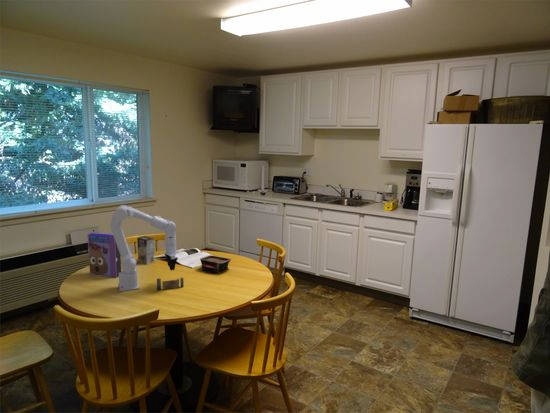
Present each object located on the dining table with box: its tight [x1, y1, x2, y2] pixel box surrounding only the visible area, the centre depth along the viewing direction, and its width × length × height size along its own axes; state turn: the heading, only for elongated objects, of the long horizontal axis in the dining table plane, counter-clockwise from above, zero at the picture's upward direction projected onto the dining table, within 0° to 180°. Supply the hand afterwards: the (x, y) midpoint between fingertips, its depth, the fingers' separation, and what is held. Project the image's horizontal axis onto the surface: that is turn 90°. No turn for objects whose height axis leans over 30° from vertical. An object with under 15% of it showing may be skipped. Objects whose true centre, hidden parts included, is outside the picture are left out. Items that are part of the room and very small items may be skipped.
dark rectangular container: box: [199, 255, 232, 274], centre depth 230 cm, size 14×18×10 cm
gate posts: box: [156, 277, 184, 292], centre depth 200 cm, size 14×2×6 cm, turn 114°
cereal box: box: [86, 232, 122, 279], centre depth 216 cm, size 17×5×24 cm, turn 76°
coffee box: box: [137, 235, 155, 265], centre depth 241 cm, size 9×6×16 cm
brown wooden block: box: [161, 278, 180, 290], centre depth 200 cm, size 8×2×4 cm, turn 114°
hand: (171, 268), depth 204 cm, fingers open, 6 cm apart
